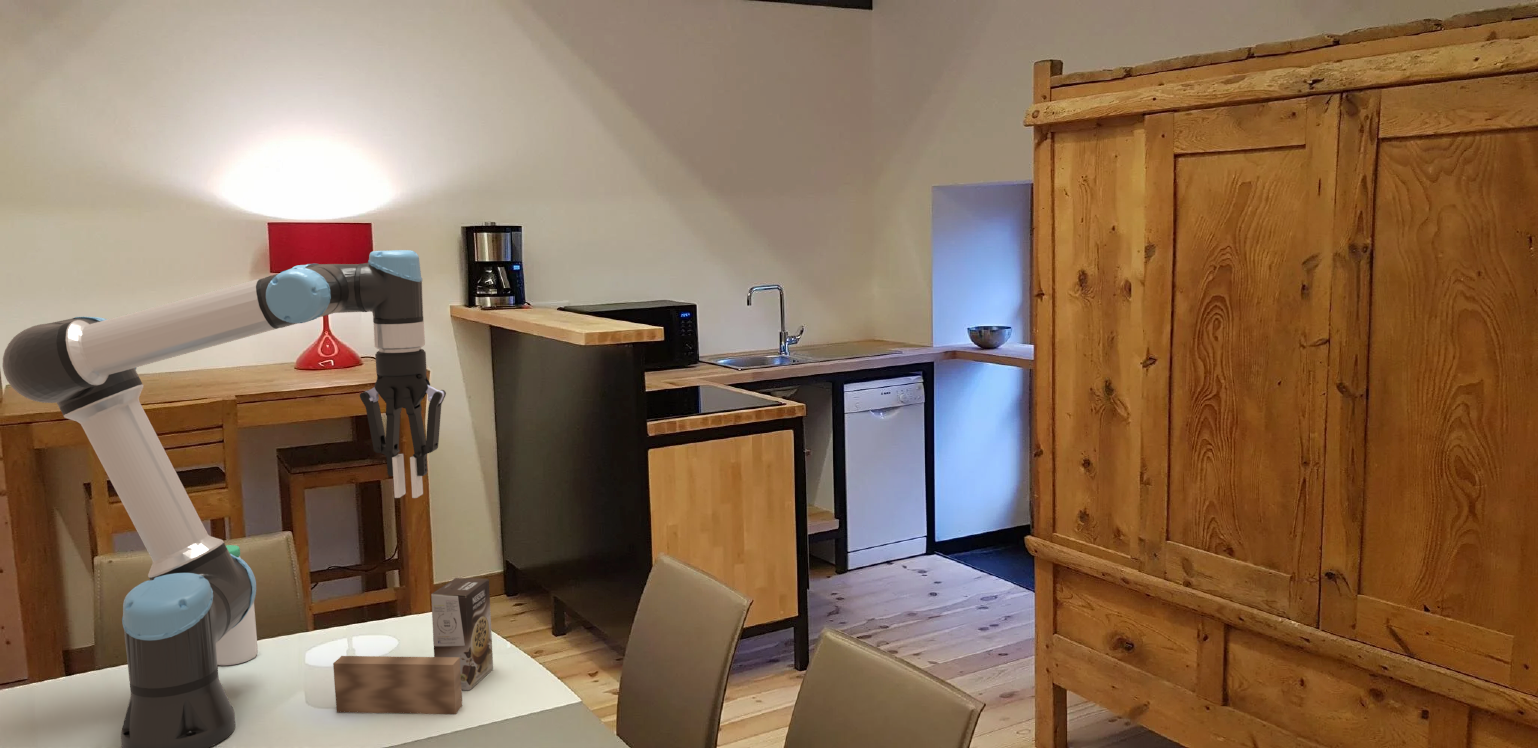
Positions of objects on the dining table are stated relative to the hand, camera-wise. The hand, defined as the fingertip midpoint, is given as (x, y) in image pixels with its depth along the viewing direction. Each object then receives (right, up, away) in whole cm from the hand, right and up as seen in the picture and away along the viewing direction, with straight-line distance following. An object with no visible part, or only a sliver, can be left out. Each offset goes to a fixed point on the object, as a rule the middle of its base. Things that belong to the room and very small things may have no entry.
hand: (408, 495), depth 181 cm
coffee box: (+7, -32, +9) cm, 34 cm away
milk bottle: (-37, -31, +19) cm, 52 cm away
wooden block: (-1, -33, -3) cm, 33 cm away
